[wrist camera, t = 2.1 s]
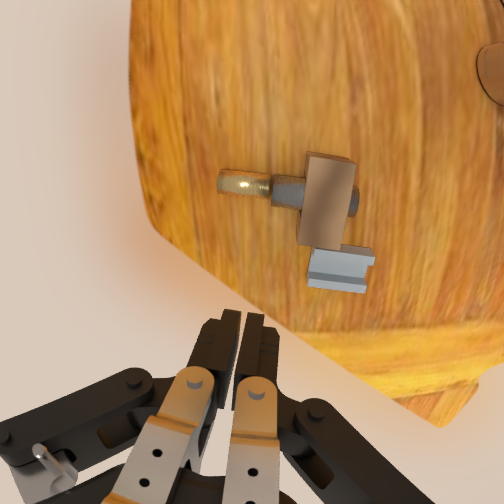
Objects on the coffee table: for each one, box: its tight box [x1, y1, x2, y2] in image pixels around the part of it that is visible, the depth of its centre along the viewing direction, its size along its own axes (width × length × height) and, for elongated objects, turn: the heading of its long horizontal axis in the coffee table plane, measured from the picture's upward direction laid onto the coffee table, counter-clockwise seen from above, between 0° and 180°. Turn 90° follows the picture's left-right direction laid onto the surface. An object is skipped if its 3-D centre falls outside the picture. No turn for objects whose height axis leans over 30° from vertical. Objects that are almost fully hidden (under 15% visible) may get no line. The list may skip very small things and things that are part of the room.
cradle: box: [307, 244, 376, 293], centre depth 39 cm, size 8×5×3 cm
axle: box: [271, 175, 359, 218], centre depth 35 cm, size 10×4×4 cm, turn 85°
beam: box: [296, 151, 357, 250], centre depth 35 cm, size 5×10×5 cm, turn 175°
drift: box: [217, 169, 271, 199], centre depth 36 cm, size 6×3×3 cm, turn 85°
